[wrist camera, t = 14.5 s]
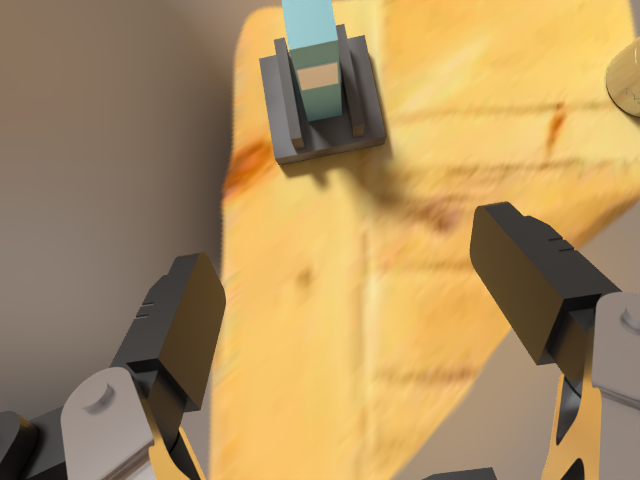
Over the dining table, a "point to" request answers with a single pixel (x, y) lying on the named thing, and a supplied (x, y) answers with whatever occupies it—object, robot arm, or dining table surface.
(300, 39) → the teal book
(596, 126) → the dining table surface
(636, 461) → the robot arm
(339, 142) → the book stand
